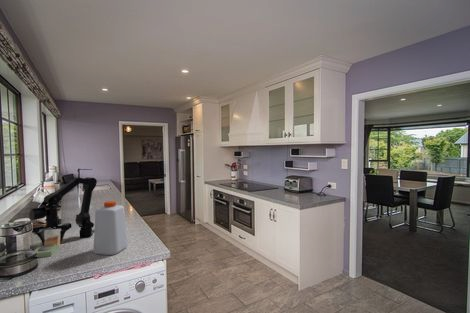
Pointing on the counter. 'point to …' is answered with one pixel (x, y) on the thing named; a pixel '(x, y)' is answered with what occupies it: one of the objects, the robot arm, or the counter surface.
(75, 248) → the counter surface
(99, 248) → the plastic bottle
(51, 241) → the brown cardboard carton
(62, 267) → the counter surface
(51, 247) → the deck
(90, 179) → the robot arm
